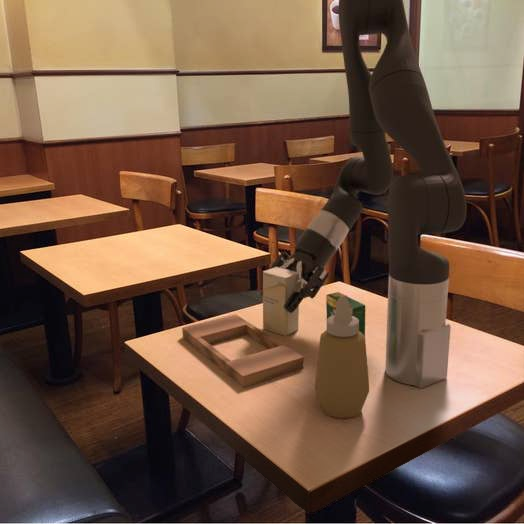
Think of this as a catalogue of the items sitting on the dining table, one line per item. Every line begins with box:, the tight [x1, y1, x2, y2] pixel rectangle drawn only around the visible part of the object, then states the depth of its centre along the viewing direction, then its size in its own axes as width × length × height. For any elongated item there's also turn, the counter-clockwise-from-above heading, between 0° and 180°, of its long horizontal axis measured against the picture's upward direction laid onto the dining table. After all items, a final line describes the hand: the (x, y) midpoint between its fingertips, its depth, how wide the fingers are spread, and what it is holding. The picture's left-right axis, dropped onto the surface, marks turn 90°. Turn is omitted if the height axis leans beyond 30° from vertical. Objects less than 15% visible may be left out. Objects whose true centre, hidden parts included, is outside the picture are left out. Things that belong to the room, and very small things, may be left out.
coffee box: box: [325, 291, 366, 337], centre depth 95 cm, size 8×3×13 cm, turn 25°
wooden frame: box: [181, 313, 305, 388], centre depth 106 cm, size 24×12×2 cm, turn 32°
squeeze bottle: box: [314, 294, 370, 419], centre depth 83 cm, size 8×8×18 cm
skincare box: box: [262, 267, 300, 337], centre depth 113 cm, size 6×4×12 cm
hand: (275, 303), depth 113 cm, fingers open, 8 cm apart
